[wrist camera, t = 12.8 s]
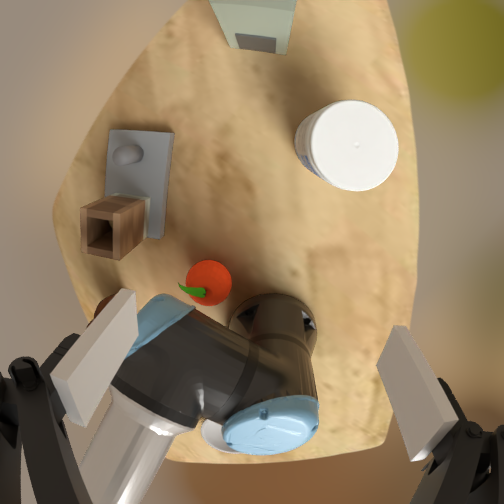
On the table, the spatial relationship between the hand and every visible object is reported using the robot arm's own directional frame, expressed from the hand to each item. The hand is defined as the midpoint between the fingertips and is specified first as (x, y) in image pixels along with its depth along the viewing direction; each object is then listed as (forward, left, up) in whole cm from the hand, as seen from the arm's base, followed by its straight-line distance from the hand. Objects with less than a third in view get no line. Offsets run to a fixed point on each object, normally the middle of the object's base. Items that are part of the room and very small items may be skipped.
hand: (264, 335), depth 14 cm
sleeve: (-4, +20, -29) cm, 36 cm away
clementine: (-13, +7, -32) cm, 35 cm away
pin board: (0, +20, -31) cm, 37 cm away
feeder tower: (+26, +5, -31) cm, 41 cm away
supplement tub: (+10, -7, -32) cm, 34 cm away
